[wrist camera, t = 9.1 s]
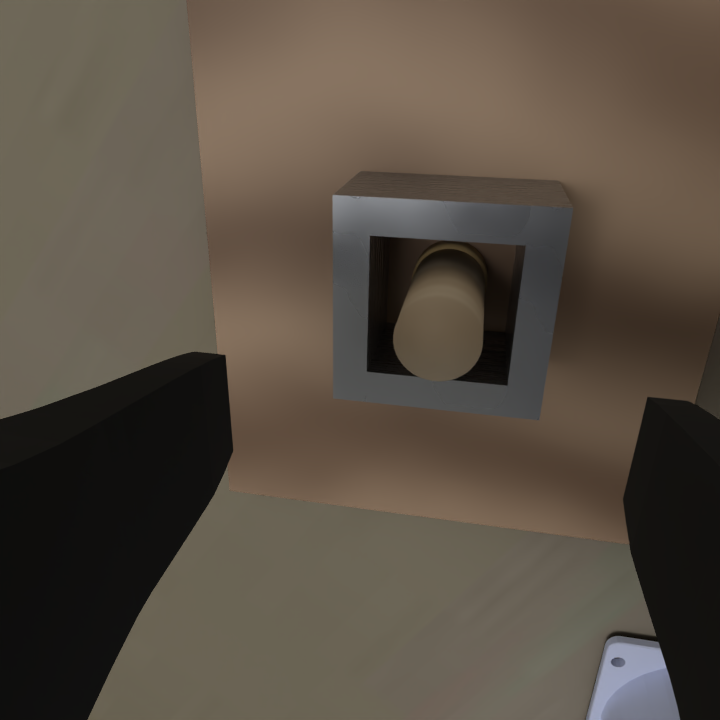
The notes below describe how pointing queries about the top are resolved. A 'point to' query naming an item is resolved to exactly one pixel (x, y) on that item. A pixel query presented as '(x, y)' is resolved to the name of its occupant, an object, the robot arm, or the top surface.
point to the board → (455, 258)
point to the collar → (451, 223)
